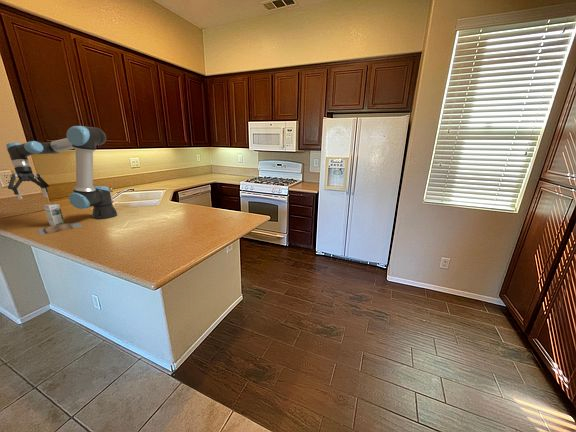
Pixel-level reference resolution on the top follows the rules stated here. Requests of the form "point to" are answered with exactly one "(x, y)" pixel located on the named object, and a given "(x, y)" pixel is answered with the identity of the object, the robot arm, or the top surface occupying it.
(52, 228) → the stand
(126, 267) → the top surface
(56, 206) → the syrup box
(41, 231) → the mat
